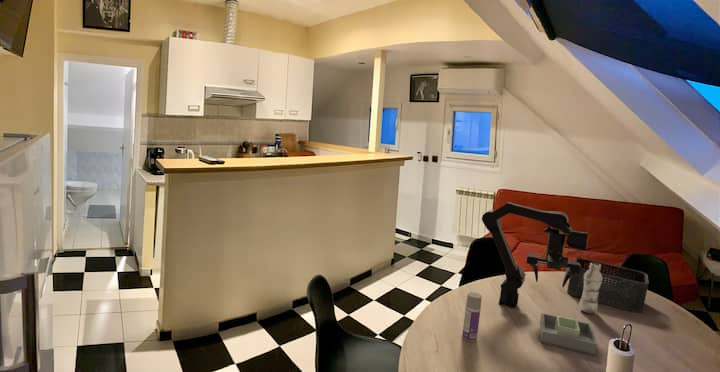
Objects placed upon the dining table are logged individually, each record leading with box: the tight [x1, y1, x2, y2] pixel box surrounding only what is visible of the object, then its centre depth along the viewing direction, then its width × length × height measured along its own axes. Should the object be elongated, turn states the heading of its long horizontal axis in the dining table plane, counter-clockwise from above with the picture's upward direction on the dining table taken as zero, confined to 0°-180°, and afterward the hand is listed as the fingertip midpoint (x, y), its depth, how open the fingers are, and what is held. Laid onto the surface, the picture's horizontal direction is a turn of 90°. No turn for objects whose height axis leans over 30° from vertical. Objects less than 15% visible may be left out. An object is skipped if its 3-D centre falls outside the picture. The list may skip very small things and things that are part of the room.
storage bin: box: [566, 257, 650, 314], centre depth 181 cm, size 29×19×13 cm
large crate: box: [539, 312, 598, 357], centre depth 141 cm, size 16×16×4 cm
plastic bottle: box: [578, 262, 603, 314], centre depth 163 cm, size 6×7×20 cm
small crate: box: [555, 315, 580, 339], centre depth 140 cm, size 6×9×5 cm
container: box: [461, 291, 483, 343], centre depth 135 cm, size 5×5×15 cm
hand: (549, 284), depth 158 cm, fingers open, 9 cm apart
